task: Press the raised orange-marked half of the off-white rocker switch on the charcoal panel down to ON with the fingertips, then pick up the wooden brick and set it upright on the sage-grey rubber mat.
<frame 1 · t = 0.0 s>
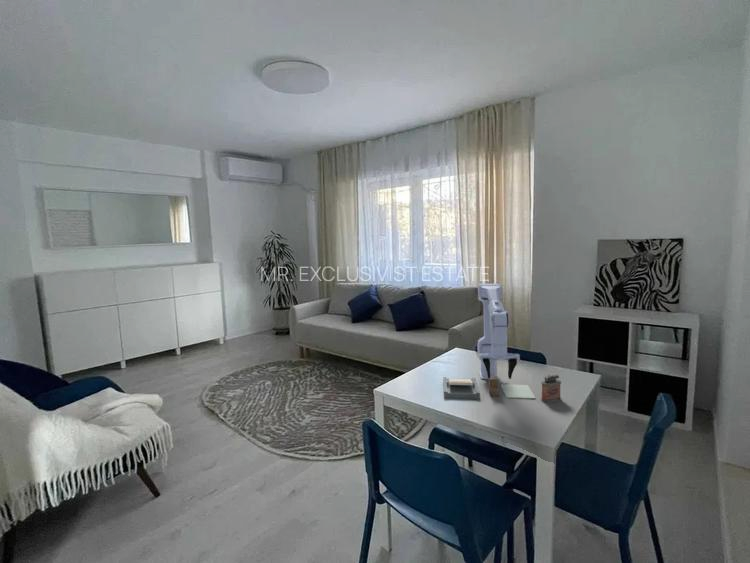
hand: (499, 377, 141), 10 cm above the table, fingers open, 7 cm apart
switch panel: (460, 390, 156), on the table
lighter: (551, 400, 143), on the table
rocker switch: (460, 381, 155), point 4 cm above the table, hinge at -12.0°
wooden brick: (493, 394, 150), on the table
mat: (517, 391, 152), on the table
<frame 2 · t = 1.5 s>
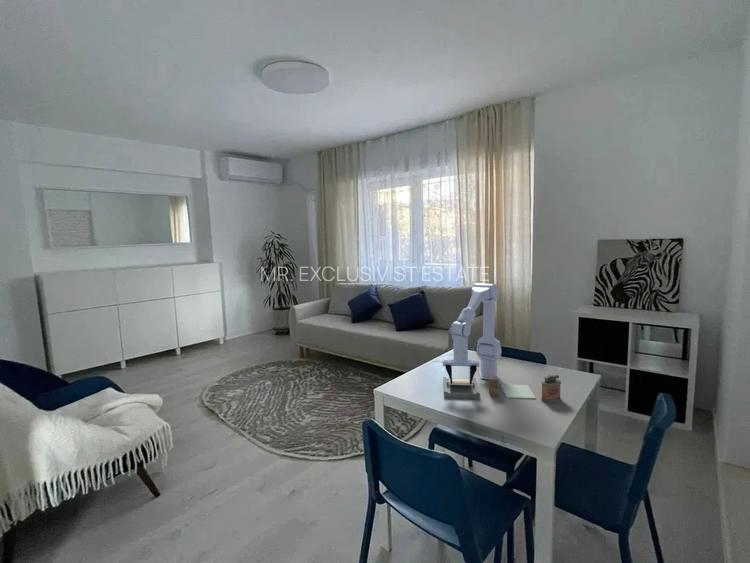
hand: (460, 383, 151), 5 cm above the table
rocker switch: (460, 381, 155), point 4 cm above the table, hinge at -11.8°, touching gripper
everything else where it was.
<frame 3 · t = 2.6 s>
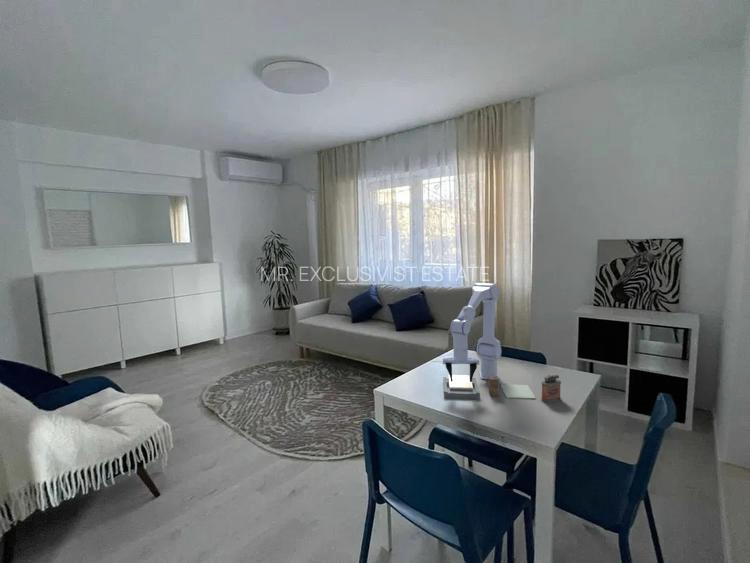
hand: (461, 380, 151), 6 cm above the table, fingers open, 7 cm apart
rocker switch: (460, 381, 155), point 4 cm above the table, hinge at 11.1°
everything else where it was.
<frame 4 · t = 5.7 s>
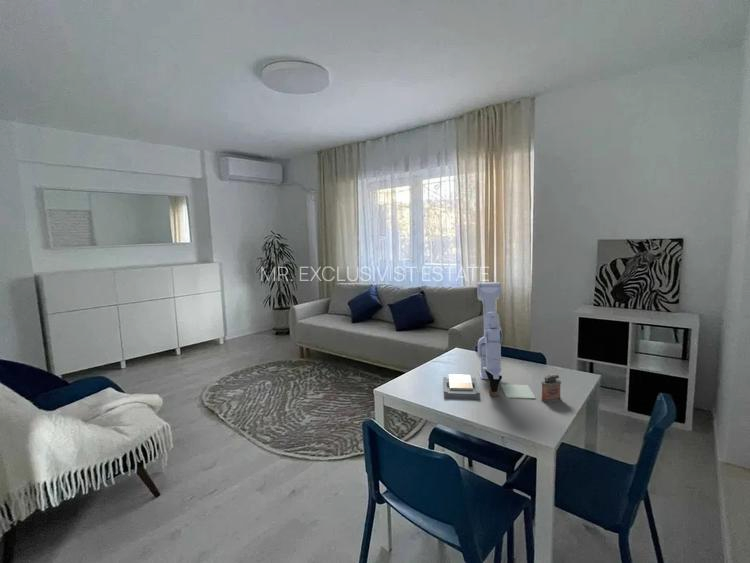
hand: (493, 389, 150), 2 cm above the table, fingers closed on wooden brick, 3 cm apart
rocker switch: (460, 381, 155), point 4 cm above the table, hinge at 14.0°
wooden brick: (493, 394, 150), on the table, touching gripper
everything else where it was.
when the fingers open (3 cm above the table, at t = 9.7 s): wooden brick stays where it is, resting on mat.
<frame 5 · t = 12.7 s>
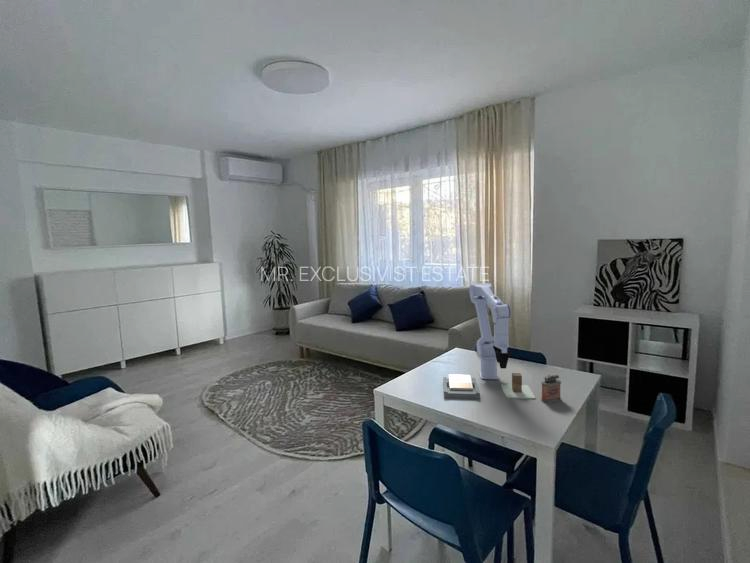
hand: (501, 365, 154), 10 cm above the table, fingers open, 7 cm apart
wooden brick: (516, 390, 152), resting on mat
everything else where it was.
at the end: rocker switch at +14° (first picture: -12°); wooden brick inside the target area on the mat (0.3 cm from its centre), point 0.5 cm above the mat's base; wooden brick tilted 0° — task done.
